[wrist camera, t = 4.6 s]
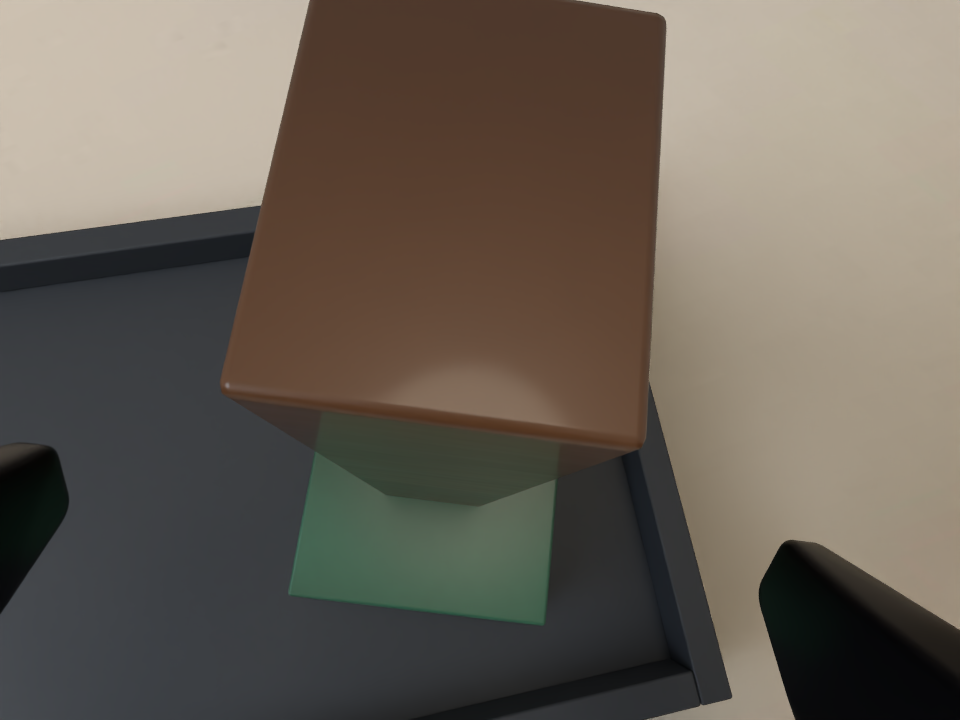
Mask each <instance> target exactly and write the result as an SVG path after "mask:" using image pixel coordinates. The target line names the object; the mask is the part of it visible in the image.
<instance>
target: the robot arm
mask: <svg viewBox="0 0 960 720" xmlns="http://www.w3.org/2000/svg"><path fill="white" fill-rule="evenodd" d="M68 507H69V493H68V489H67V485H66V481H65V478H64V474H63V470H62V466H61V462H60V458H59V455H58V453H57V451H56V450H55V449H54V448H53V447H51V446H48V445H41V444H34V443H26V442H16V443H11V444H7V445H3V446H0V614H1V613H2V611H3V610H4V608H5V607H6V606H7V604H8V603H9V601H10V600H11V598H12V597H13V595H14V594H15V592H16V591H17V589H18V588H19V586H20V585H21V583H22V582H23V580H24V579H25V577H26V576H27V574H28V573H29V571H30V570H31V568H32V567H33V565H34V564H35V562H36V561H37V559H38V558H39V556H40V555H41V553H42V552H43V550H44V549H45V547H46V546H47V544H48V543H49V541H50V540H51V538H52V537H53V535H54V534H55V532H56V531H57V529H58V528H59V526H60V525H61V523H62V522H63V520H64V518H65V516H66V514H67V511H68ZM759 603H760V607H761V611H762V614H763V617H764V621H765V624H766V627H767V631H768V634H769V637H770V641H771V644H772V647H773V651H774V654H775V657H776V661H777V664H778V667H779V671H780V674H781V677H782V681H783V684H784V687H785V691H786V694H787V697H788V700H789V703H790V706H791V709H792V712H793V715H794V717H795V720H960V630H959V629H957V628H956V627H954V626H952V625H951V624H949V623H947V622H946V621H944V620H943V619H941V618H939V617H938V616H936V615H934V614H933V613H931V612H930V611H928V610H926V609H925V608H923V607H921V606H920V605H918V604H917V603H915V602H913V601H912V600H910V599H908V598H907V597H905V596H904V595H902V594H900V593H899V592H897V591H895V590H894V589H892V588H891V587H889V586H887V585H886V584H884V583H882V582H881V581H879V580H878V579H876V578H874V577H873V576H871V575H869V574H868V573H866V572H865V571H863V570H861V569H860V568H858V567H856V566H855V565H853V564H852V563H850V562H848V561H847V560H845V559H843V558H842V557H840V556H839V555H837V554H835V553H834V552H832V551H830V550H829V549H827V548H826V547H824V546H822V545H820V544H817V543H813V542H805V541H797V540H788V541H785V542H784V543H783V544H781V546H780V547H779V549H778V551H777V553H776V555H775V557H774V558H773V560H772V562H771V564H770V566H769V568H768V570H767V571H766V573H765V575H764V577H763V579H762V581H761V583H760V588H759Z"/></svg>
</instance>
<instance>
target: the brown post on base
mask: <svg viewBox="0 0 960 720" xmlns="http://www.w3.org/2000/svg"><path fill="white" fill-rule="evenodd" d="M665 48H666V21H665V18H664V17H663V16H661V15H659V14H658V13H652V12H645V11H639V10H633V9H627V8H620V7H614V6H608V5H602V4H596V3H589V2H583V1H577V0H310V1H309V6H308V10H307V14H306V18H305V22H304V27H303V31H302V35H301V39H300V44H299V48H298V52H297V56H296V61H295V65H294V69H293V73H292V77H291V82H290V86H289V90H288V94H287V99H286V103H285V107H284V111H283V116H282V120H281V124H280V128H279V133H278V137H277V141H276V145H275V149H274V154H273V158H272V162H271V166H270V171H269V175H268V179H267V183H266V188H265V192H264V196H263V200H262V205H261V209H260V213H259V217H258V221H257V226H256V230H255V234H254V238H253V243H252V247H251V251H250V255H249V260H248V264H247V268H246V272H245V276H244V281H243V285H242V289H241V293H240V298H239V302H238V306H237V310H236V315H235V319H234V323H233V327H232V332H231V336H230V340H229V344H228V348H227V353H226V357H225V361H224V365H223V370H222V374H221V378H220V387H221V393H222V394H223V395H225V396H226V397H228V398H230V399H231V400H233V401H234V402H236V403H238V404H239V405H241V406H243V407H244V408H246V409H247V410H249V411H251V412H252V413H254V414H256V415H257V416H259V417H260V418H262V419H264V420H265V421H267V422H268V423H270V424H272V425H273V426H275V427H277V428H278V429H280V430H281V431H283V432H285V433H286V434H288V435H290V436H291V437H293V438H294V439H296V440H298V441H299V442H301V443H303V444H304V445H306V446H307V447H309V448H311V449H312V450H314V451H315V452H314V457H313V462H312V468H311V473H310V478H309V484H308V489H307V494H306V499H305V505H304V510H303V515H302V521H301V526H300V531H299V536H298V542H297V547H296V552H295V558H294V563H293V568H292V573H291V579H290V584H289V589H288V594H289V595H290V596H294V597H302V598H311V599H319V600H328V601H336V602H345V603H353V604H362V605H370V606H378V607H387V608H395V609H404V610H412V611H421V612H429V613H438V614H446V615H455V616H463V617H471V618H480V619H488V620H497V621H505V622H514V623H522V624H531V625H539V626H543V625H545V623H546V613H547V601H548V589H549V578H550V566H551V554H552V543H553V531H554V519H555V507H556V496H557V484H558V478H560V477H563V476H566V475H569V474H572V473H574V472H577V471H580V470H583V469H586V468H588V467H591V466H594V465H597V464H599V463H602V462H605V461H608V460H611V459H613V458H616V457H619V456H622V455H625V454H627V453H630V452H633V451H636V450H639V449H641V448H642V446H643V444H644V442H645V440H646V431H647V411H648V391H649V371H650V350H651V330H652V310H653V290H654V270H655V250H656V230H657V209H658V189H659V169H660V149H661V129H662V109H663V89H664V68H665Z"/></svg>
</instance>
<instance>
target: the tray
mask: <svg viewBox="0 0 960 720" xmlns="http://www.w3.org/2000/svg"><path fill="white" fill-rule="evenodd" d="M260 209H261V206H254V207H247V208H239V209H232V210H224V211H217V212H209V213H202V214H194V215H187V216H179V217H172V218H164V219H156V220H149V221H141V222H134V223H126V224H119V225H111V226H104V227H96V228H89V229H81V230H74V231H66V232H59V233H51V234H43V235H36V236H28V237H21V238H13V239H6V240H0V446H3V445H7V444H11V443H16V442H26V443H34V444H41V445H48V446H51V447H53V448H54V449H55V450H56V451H57V453H58V455H59V458H60V462H61V466H62V470H63V474H64V478H65V481H66V485H67V489H68V493H69V507H68V511H67V514H66V516H65V518H64V520H63V522H62V523H61V525H60V526H59V528H58V529H57V531H56V532H55V534H54V535H53V537H52V538H51V540H50V541H49V543H48V544H47V546H46V547H45V549H44V550H43V552H42V553H41V555H40V556H39V558H38V559H37V561H36V562H35V564H34V565H33V567H32V568H31V570H30V571H29V573H28V574H27V576H26V577H25V579H24V580H23V582H22V583H21V585H20V586H19V588H18V589H17V591H16V592H15V594H14V595H13V597H12V598H11V600H10V601H9V603H8V604H7V606H6V607H5V608H4V610H3V611H2V613H1V614H0V720H646V719H650V718H654V717H658V716H662V715H666V714H670V713H674V712H678V711H682V710H686V709H690V708H694V707H698V706H700V704H701V705H707V704H711V703H715V702H719V701H723V700H727V699H731V698H732V693H731V690H730V686H729V682H728V678H727V674H726V671H725V667H724V663H723V659H722V656H721V652H720V648H719V644H718V640H717V637H716V633H715V629H714V625H713V621H712V618H711V614H710V610H709V606H708V602H707V599H706V595H705V591H704V587H703V584H702V580H701V576H700V572H699V568H698V565H697V561H696V557H695V553H694V549H693V546H692V542H691V538H690V534H689V530H688V527H687V523H686V519H685V515H684V512H683V508H682V504H681V500H680V496H679V493H678V489H677V485H676V481H675V477H674V474H673V470H672V466H671V462H670V458H669V455H668V451H667V447H666V443H665V440H664V436H663V432H662V428H661V424H660V421H659V417H658V413H657V409H656V405H655V402H654V398H653V394H652V390H651V386H650V383H649V391H648V411H647V431H646V440H645V442H644V444H643V446H642V448H641V449H639V450H636V451H633V452H630V453H627V454H625V455H622V456H619V457H616V458H613V459H611V460H608V461H605V462H602V463H599V464H597V465H594V466H591V467H588V468H586V469H583V470H580V471H577V472H574V473H572V474H569V475H566V476H563V477H560V478H558V484H557V496H556V507H555V519H554V531H553V543H552V554H551V566H550V578H549V589H548V601H547V613H546V623H545V625H543V626H539V625H531V624H522V623H514V622H505V621H497V620H488V619H480V618H471V617H463V616H455V615H446V614H438V613H429V612H421V611H412V610H404V609H395V608H387V607H378V606H370V605H362V604H353V603H345V602H336V601H328V600H319V599H311V598H302V597H294V596H290V595H289V594H288V589H289V584H290V579H291V573H292V568H293V563H294V558H295V552H296V547H297V542H298V536H299V531H300V526H301V521H302V515H303V510H304V505H305V499H306V494H307V489H308V484H309V478H310V473H311V468H312V462H313V457H314V452H315V451H314V450H312V449H311V448H309V447H307V446H306V445H304V444H303V443H301V442H299V441H298V440H296V439H294V438H293V437H291V436H290V435H288V434H286V433H285V432H283V431H281V430H280V429H278V428H277V427H275V426H273V425H272V424H270V423H268V422H267V421H265V420H264V419H262V418H260V417H259V416H257V415H256V414H254V413H252V412H251V411H249V410H247V409H246V408H244V407H243V406H241V405H239V404H238V403H236V402H234V401H233V400H231V399H230V398H228V397H226V396H225V395H223V394H222V393H221V387H220V378H221V374H222V370H223V365H224V361H225V357H226V353H227V348H228V344H229V340H230V336H231V332H232V327H233V323H234V319H235V315H236V310H237V306H238V302H239V298H240V293H241V289H242V285H243V281H244V276H245V272H246V268H247V264H248V260H249V255H250V251H251V247H252V243H253V238H254V234H255V230H256V226H257V221H258V217H259V213H260Z"/></svg>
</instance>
